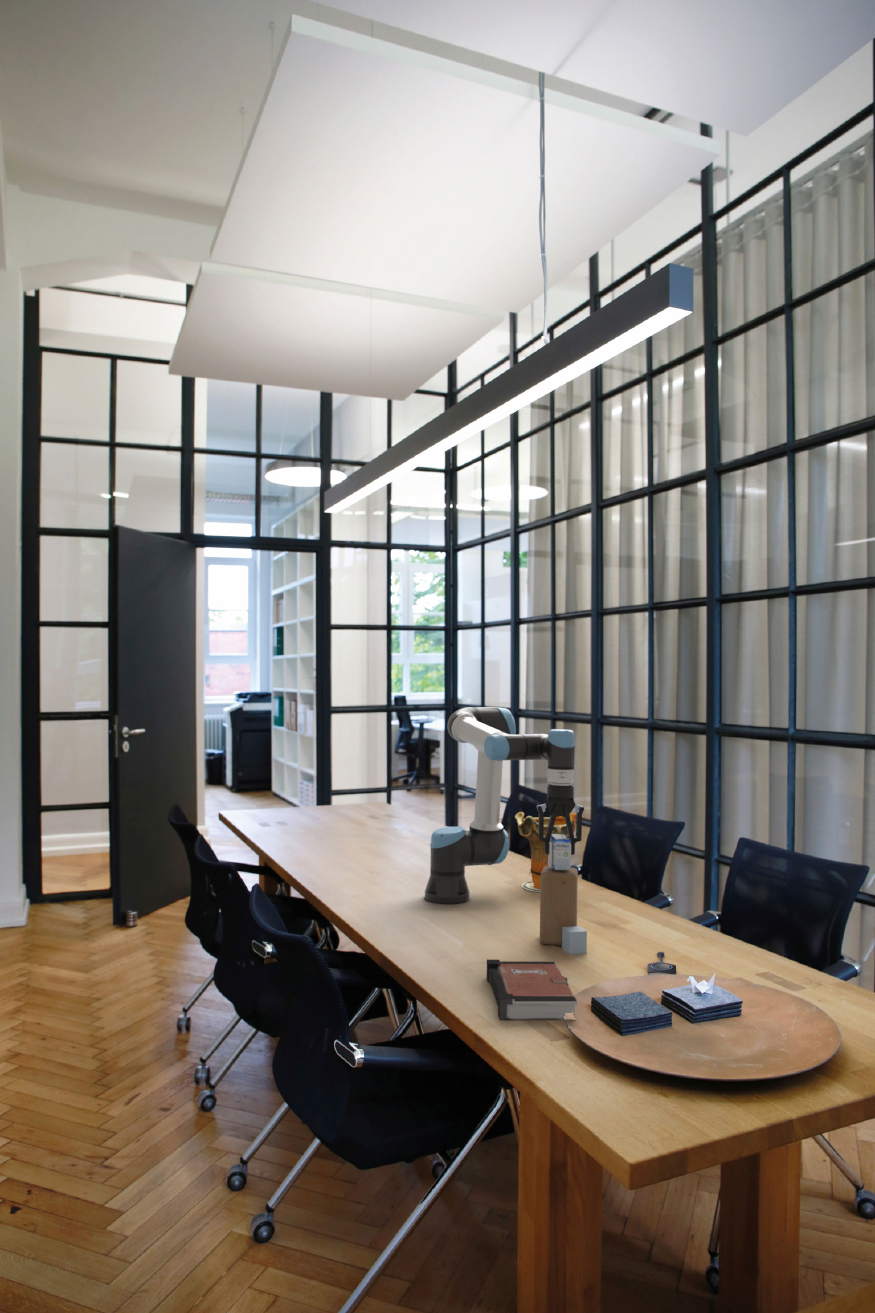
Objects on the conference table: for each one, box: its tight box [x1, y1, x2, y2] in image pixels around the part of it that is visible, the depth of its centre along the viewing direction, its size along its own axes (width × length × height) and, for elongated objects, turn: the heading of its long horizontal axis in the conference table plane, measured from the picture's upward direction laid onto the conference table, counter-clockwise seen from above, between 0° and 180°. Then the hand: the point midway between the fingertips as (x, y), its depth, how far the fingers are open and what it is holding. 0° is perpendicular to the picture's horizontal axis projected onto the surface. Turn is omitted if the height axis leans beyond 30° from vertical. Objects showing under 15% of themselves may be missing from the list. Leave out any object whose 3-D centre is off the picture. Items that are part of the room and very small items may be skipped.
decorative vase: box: [514, 811, 577, 893], centre depth 303 cm, size 21×23×28 cm
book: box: [486, 959, 578, 1021], centre depth 196 cm, size 26×18×5 cm
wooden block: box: [539, 866, 579, 946], centre depth 240 cm, size 10×10×20 cm
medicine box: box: [550, 834, 571, 870], centre depth 241 cm, size 8×4×9 cm, turn 4°
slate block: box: [561, 925, 588, 955], centre depth 231 cm, size 5×5×6 cm
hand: (559, 865), depth 241 cm, fingers closed on medicine box, 5 cm apart
